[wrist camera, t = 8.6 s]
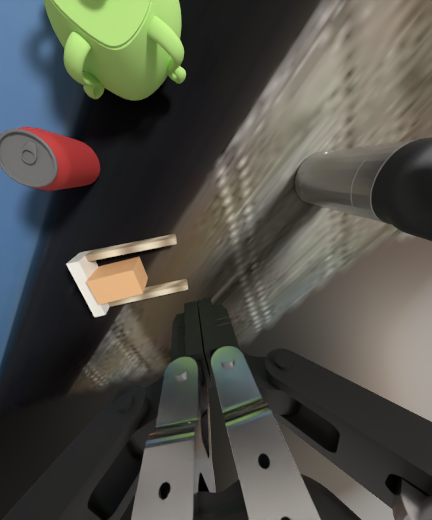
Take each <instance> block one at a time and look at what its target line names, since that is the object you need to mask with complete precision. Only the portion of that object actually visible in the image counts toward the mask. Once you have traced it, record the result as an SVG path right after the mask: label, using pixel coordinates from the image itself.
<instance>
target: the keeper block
mask: <svg viewBox="0 0 432 520" xmlns="http://www.w3.org/2000/svg"><path fill="white" fill-rule="evenodd" d="M147 279H148V277H147V275H146V272H145V270H144V267H143V265H142V262H141V260H140V257H136V258H132V259H128V260H124V261H120V262H115V263H111V264H107V265H103V266H99V267H98V268H97V269H96V270H95V271H94V273H93V274H92V275H91V276H90V277H89V278H88V280H87V281H86V283H87V285H88V286H89V288H90V290H91V292H92V294H93V295H94V297H95V299H96V301H97V302H98V304H99V305H101V304H105V303H108V302H112V301H116V300H120V299H124V298H128V297H132V296H136V295H140V294H143V292H144V289H145V286H146V283H147Z"/></svg>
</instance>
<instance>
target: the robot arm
mask: <svg viewBox="0 0 432 520" xmlns="http://www.w3.org/2000/svg"><path fill="white" fill-rule="evenodd" d="M295 189H296V193H297V195H298V196H299V198H300V199H301V200H303V201H304V202H307V203H310V204H314V205H318V206H321V207H325V208H329V209H333V210H337V211H341V212H345V213H349V214H352V215H356V216H360V217H364V218H369V219H372V220H376V221H380V222H384V223H388V224H392V225H393V226H395V227H396V228H397V229H399V230H401V231H403V232H405V233H408V234H411V235H414V236H417V237H420V238H424V239H427V240H430V241H432V138H424V139H417V140H409V141H402V142H394V143H388V144H380V145H372V146H365V147H357V148H350V149H342V150H334V151H326V152H319V153H315V154H313V155H311V156H309V157H308V158H307V159H306V160H305V161H304V162H303V163H302V164H301V166H300V167H299V169H298V171H297V174H296V177H295ZM198 305H199V306H198ZM184 309H185V313H182V314H178V315H176V317H175V319H174V321H173V326H172V330H173V331H172V344H171V362H170V364H169V365H168V367H167V368H166V370H165V373H164V376H163V377H162V378H161V379H159V380H158V381H157V382H155V383H153V384H152V385H150V386H148V387H146V388H145V389H143V388H142V387H141V386H139V385H129V386H126V387H124V388H122V389H121V390H119V391H118V392H117V393H116V394H115V395H114V396H113V397H112V398H111V400H110V401H109V402H108V403H107V404H106V405H105V406H104V407H103V408H102V409H101V410H100V412H99V413H98V414H97V415H96V416H95V417H94V418H93V419H92V421H91V422H90V423H89V424H88V425H87V426H86V427H85V428H84V429H83V430H82V432H81V433H80V434H79V435H78V436H77V437H76V438H75V439H74V441H73V442H72V443H71V444H70V445H69V446H68V447H67V448H66V449H65V451H63V453H62V454H61V455H60V456H59V457H58V458H57V459H56V460H55V462H54V463H53V464H52V465H51V466H50V467H49V468H48V469H47V471H45V473H44V474H43V475H42V476H41V477H40V478H39V479H38V480H37V481H36V483H35V484H34V485H33V486H32V487H31V488H30V489H29V490H28V491H27V493H26V494H25V495H24V496H23V497H22V498H21V499H20V500H19V501H18V502H17V504H16V505H15V506H14V507H13V508H12V509H11V510H10V511H9V512H8V514H7V515H6V516H5V517H4V518H3V519H2V520H120V518H121V516H122V515H123V513H124V511H125V509H126V508H127V506H128V504H129V503H130V501H131V499H132V498H133V496H134V494H135V493H136V497H135V502H134V507H133V513H132V518H131V520H361V519H360V518H359V517H358V516H357V515H356V514H355V513H354V512H353V511H351V510H350V509H349V508H348V507H347V506H346V505H345V504H344V503H343V502H341V501H340V500H339V499H338V498H337V497H336V496H335V495H334V494H333V493H332V492H330V491H329V490H328V489H327V488H325V487H324V486H323V485H321V484H320V483H318V482H316V481H315V480H313V479H311V478H309V477H307V476H305V475H302V474H300V473H299V470H298V468H297V466H296V464H295V461H294V460H293V457H292V455H291V453H290V450H289V449H288V446H287V444H286V442H285V439H284V437H283V435H282V433H281V431H280V428H279V426H278V424H277V422H276V419H277V420H278V421H280V422H281V423H282V424H284V425H285V426H286V427H287V428H289V429H290V430H291V431H293V432H294V433H295V434H296V435H298V436H299V437H300V438H301V439H303V440H304V441H305V442H307V443H308V444H309V445H310V446H312V447H313V448H314V449H316V450H317V451H318V452H319V453H321V454H322V455H323V456H325V457H326V458H327V459H329V460H330V461H331V462H332V463H334V464H335V465H336V466H338V467H339V468H340V469H341V470H343V471H344V472H345V473H347V474H348V475H349V476H350V477H352V478H353V479H354V480H356V481H357V482H358V483H359V484H361V485H362V486H363V487H365V488H366V489H367V490H368V491H370V492H371V493H372V494H374V495H375V496H376V497H378V498H379V499H380V500H381V501H383V502H384V503H385V504H387V505H388V506H389V507H390V508H392V510H393V516H394V519H395V520H432V422H431V421H429V420H427V419H424V418H422V417H421V416H419V415H417V414H415V413H413V412H410V411H409V410H407V409H405V408H403V407H401V406H399V405H397V404H395V403H393V402H391V401H389V400H387V399H385V398H383V397H381V396H379V395H377V394H375V393H373V392H371V391H369V390H367V389H365V388H363V387H361V386H359V385H357V384H355V383H353V382H351V381H349V380H347V379H345V378H343V377H341V376H339V375H337V374H335V373H333V372H332V371H329V370H328V369H326V368H323V367H322V366H320V365H318V364H316V363H314V362H312V361H310V360H307V359H306V358H304V357H302V356H300V355H298V354H296V353H294V352H292V351H289V350H287V349H275V350H272V351H271V352H269V353H268V354H267V356H266V357H256V356H251V355H248V354H246V353H244V352H243V351H242V350H241V349H240V347H239V345H238V343H237V339H236V336H235V333H234V330H233V327H232V324H231V321H230V318H229V315H228V312H227V309H226V308H224V307H223V306H222V305H217V306H213V307H212V303H211V299H210V298H207V299H203V300H199V301H198V302H197V301H194V302H190V303H185V304H184ZM210 375H211V376H210ZM211 378H212V382H213V386H217V390H218V394H219V399H220V403H221V407H222V411H223V415H224V419H225V423H226V427H227V431H228V435H229V440H230V443H231V448H232V452H233V455H234V460H235V464H236V468H237V472H238V476H239V480H238V481H236V482H235V483H234V484H232V485H231V486H230V487H228V488H227V489H226V490H224V491H222V492H220V493H216V491H215V481H214V473H213V467H212V454H211V434H210V413H209V404H208V403H209V399H208V391H207V388H210V387H212V383H211ZM275 418H276V419H275Z"/></svg>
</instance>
